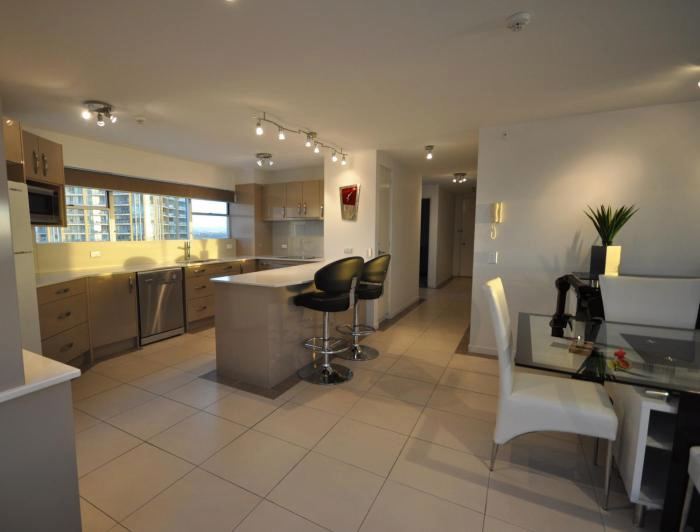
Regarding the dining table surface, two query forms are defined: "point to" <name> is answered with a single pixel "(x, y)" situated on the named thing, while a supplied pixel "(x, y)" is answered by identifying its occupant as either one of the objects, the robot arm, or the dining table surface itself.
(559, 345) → the mat
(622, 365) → the bird rattle
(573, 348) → the hole block
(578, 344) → the peg
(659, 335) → the dining table surface
